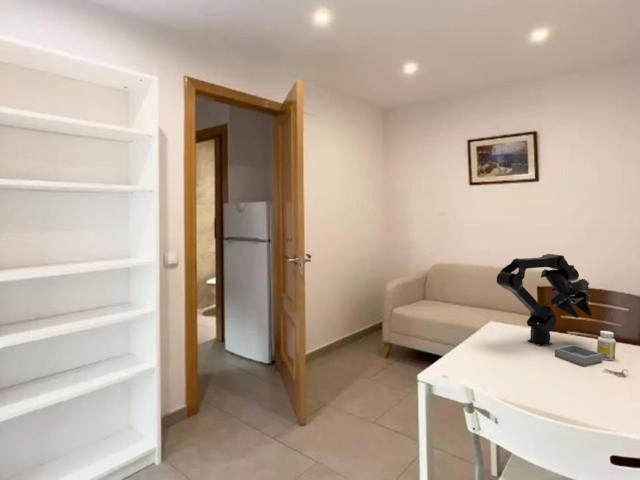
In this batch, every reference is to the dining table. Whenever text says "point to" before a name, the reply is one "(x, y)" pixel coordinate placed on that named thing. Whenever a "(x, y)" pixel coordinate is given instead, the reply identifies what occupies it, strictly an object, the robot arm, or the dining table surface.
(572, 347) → the tray
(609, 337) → the supplement bottle
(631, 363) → the dining table surface
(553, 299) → the robot arm
